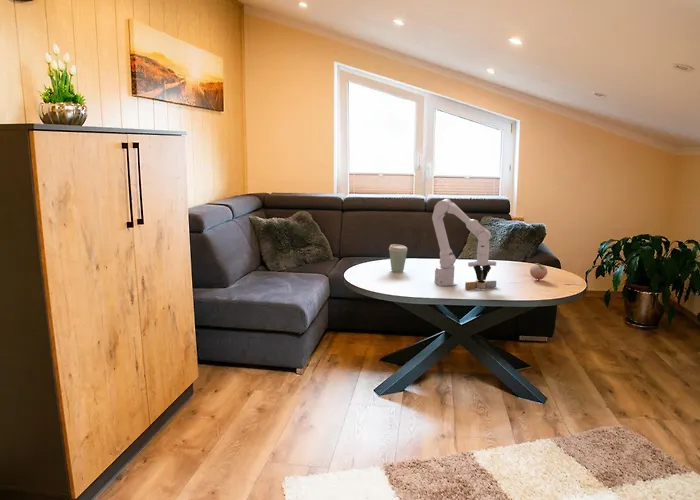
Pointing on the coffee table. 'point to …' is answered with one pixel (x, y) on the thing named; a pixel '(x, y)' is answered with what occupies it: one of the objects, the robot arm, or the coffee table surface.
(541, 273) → the decorative fruit
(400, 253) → the disposable coffee cup
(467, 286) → the hinge
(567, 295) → the coffee table surface
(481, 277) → the hinge pin
